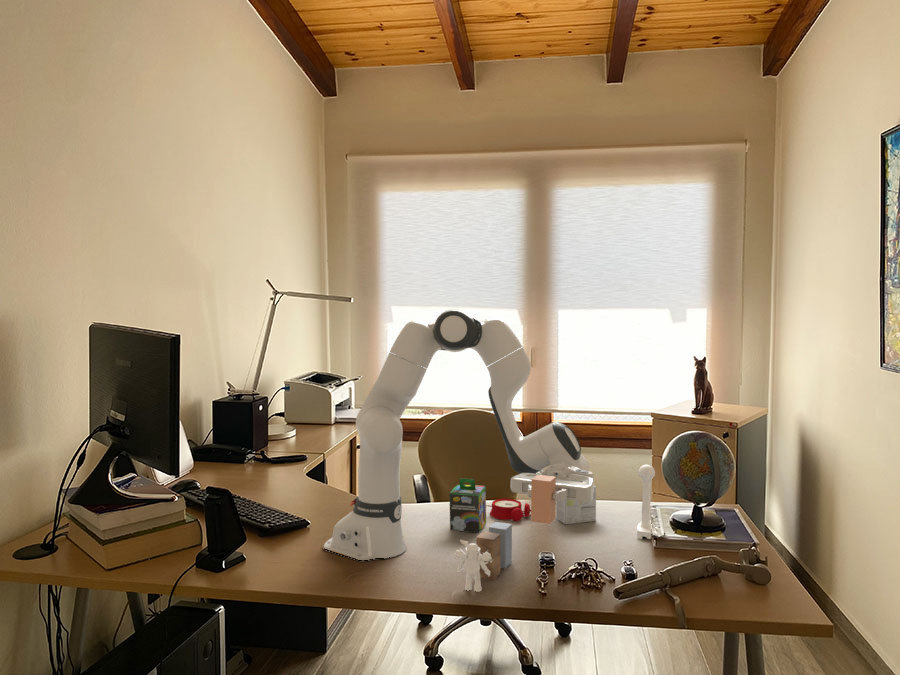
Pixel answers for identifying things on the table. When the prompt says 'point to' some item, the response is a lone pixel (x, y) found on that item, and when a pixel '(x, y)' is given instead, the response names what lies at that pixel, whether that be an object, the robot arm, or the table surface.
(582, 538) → the table surface
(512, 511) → the alarm clock
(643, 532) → the joystick
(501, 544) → the block slate
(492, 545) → the block walnut
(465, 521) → the chalk box
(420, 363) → the robot arm
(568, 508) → the white box
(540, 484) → the block terracotta
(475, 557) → the flower shoulder figurine
